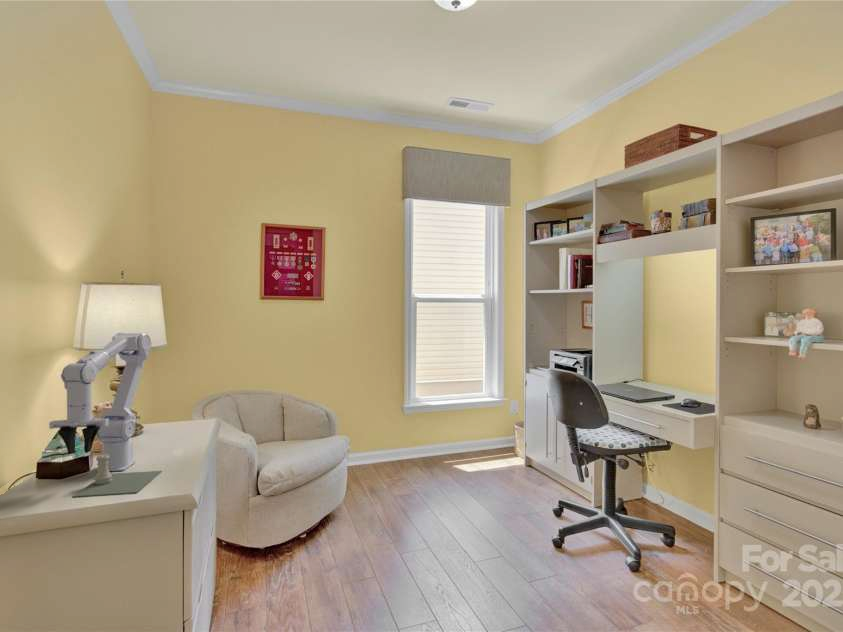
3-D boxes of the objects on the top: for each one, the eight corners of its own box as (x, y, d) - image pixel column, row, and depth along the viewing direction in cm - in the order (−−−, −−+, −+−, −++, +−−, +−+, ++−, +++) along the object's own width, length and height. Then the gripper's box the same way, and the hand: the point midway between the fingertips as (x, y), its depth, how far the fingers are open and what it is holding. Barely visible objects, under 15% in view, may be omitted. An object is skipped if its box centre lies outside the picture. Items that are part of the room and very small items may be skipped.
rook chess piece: (115, 479, 140) (115, 452, 139) (106, 485, 135) (105, 457, 135) (100, 479, 139) (99, 452, 139) (90, 485, 135) (89, 457, 135)
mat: (105, 475, 145) (105, 474, 145) (161, 471, 147) (161, 470, 147) (72, 497, 127) (72, 496, 127) (137, 493, 130) (137, 492, 130)
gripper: (42, 408, 131) (42, 457, 131) (100, 406, 133) (100, 454, 133) (57, 403, 138) (57, 450, 138) (112, 402, 140) (112, 447, 140)
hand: (79, 452), depth 136 cm, fingers open, 4 cm apart
